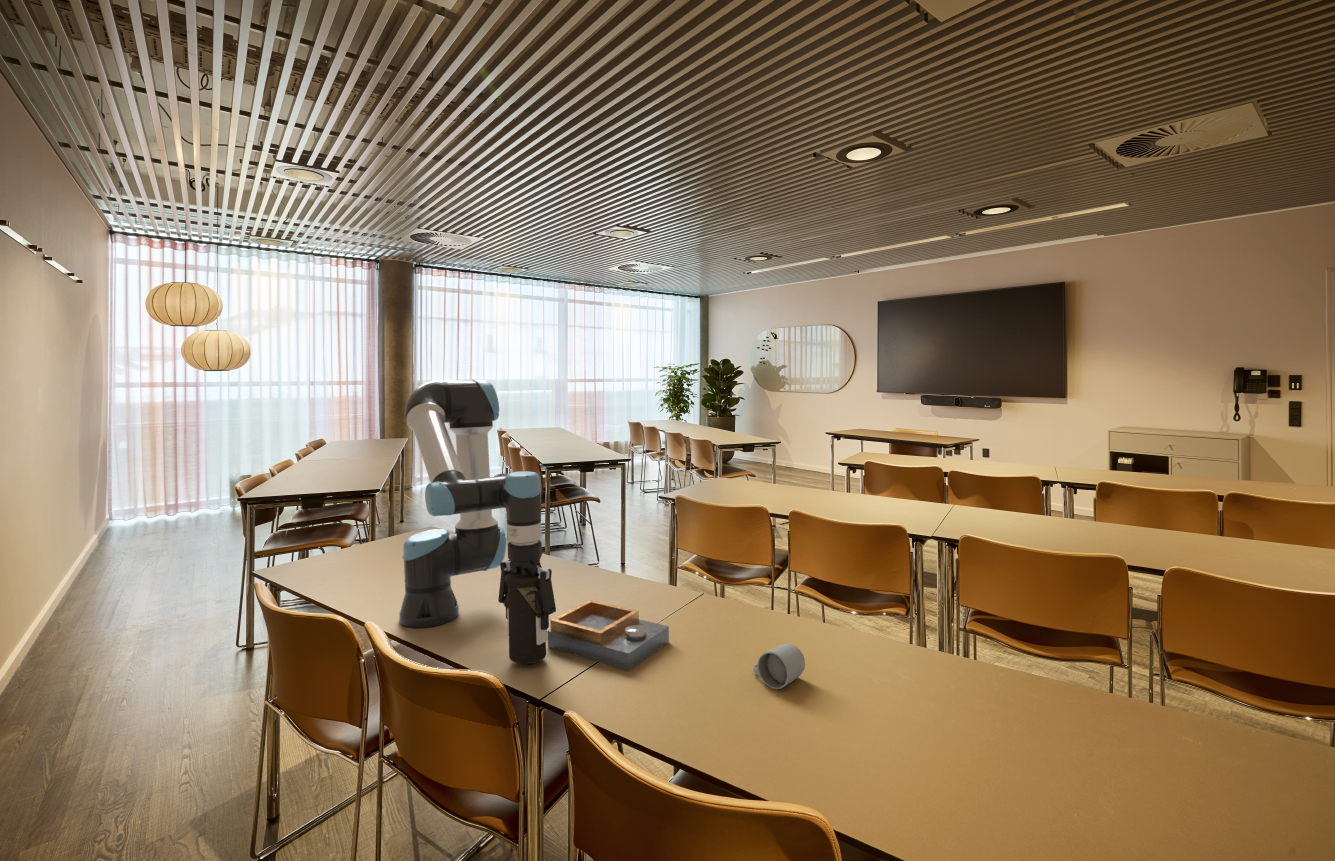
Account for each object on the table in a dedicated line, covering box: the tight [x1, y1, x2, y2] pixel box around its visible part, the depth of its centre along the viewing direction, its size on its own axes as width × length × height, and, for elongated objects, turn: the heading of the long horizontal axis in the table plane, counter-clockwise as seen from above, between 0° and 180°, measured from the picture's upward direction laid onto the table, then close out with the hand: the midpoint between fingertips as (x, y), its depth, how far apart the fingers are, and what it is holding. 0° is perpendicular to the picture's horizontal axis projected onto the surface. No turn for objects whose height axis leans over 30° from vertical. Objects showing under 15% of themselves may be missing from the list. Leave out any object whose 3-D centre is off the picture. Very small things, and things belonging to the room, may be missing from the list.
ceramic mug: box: [752, 643, 806, 690], centre depth 130 cm, size 11×8×8 cm
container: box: [505, 572, 547, 665], centre depth 138 cm, size 9×9×20 cm
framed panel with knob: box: [547, 599, 670, 672], centre depth 148 cm, size 24×17×6 cm
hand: (527, 637), depth 139 cm, fingers closed on container, 8 cm apart
